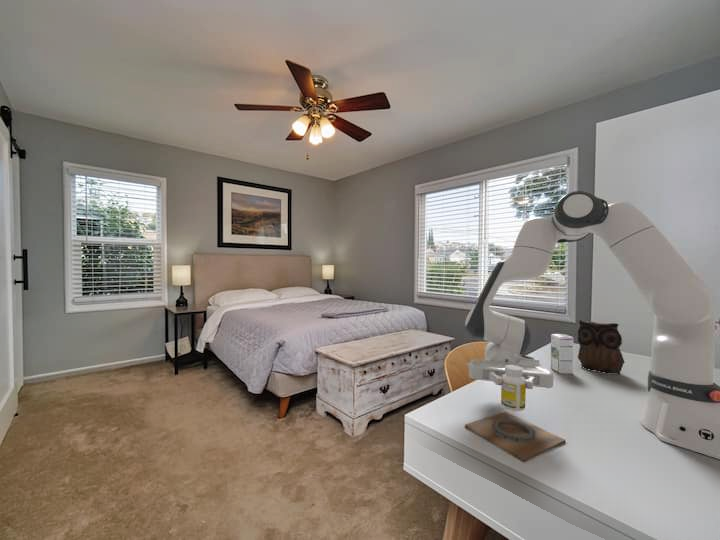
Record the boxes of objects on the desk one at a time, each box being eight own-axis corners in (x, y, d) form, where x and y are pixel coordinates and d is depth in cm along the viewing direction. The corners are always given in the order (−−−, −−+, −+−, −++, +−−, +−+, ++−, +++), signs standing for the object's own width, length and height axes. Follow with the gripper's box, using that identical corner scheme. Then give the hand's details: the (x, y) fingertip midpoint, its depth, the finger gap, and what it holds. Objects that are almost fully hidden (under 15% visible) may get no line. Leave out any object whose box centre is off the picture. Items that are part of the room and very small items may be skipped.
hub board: (565, 442, 73) (565, 435, 73) (523, 462, 65) (523, 454, 65) (505, 413, 87) (505, 407, 87) (464, 426, 79) (465, 420, 79)
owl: (625, 375, 120) (627, 324, 120) (591, 374, 121) (592, 323, 121) (603, 365, 133) (604, 318, 132) (572, 363, 134) (573, 318, 134)
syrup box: (573, 373, 121) (574, 337, 121) (558, 373, 121) (559, 336, 121) (564, 368, 127) (565, 333, 127) (549, 368, 127) (550, 333, 127)
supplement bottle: (519, 402, 79) (521, 364, 79) (529, 412, 73) (530, 371, 73) (497, 400, 79) (498, 363, 79) (505, 411, 74) (506, 370, 74)
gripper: (466, 351, 92) (469, 366, 78) (544, 358, 86) (561, 376, 73) (466, 372, 92) (468, 390, 78) (543, 381, 86) (560, 402, 73)
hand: (514, 383), depth 75 cm, fingers closed on supplement bottle, 5 cm apart
